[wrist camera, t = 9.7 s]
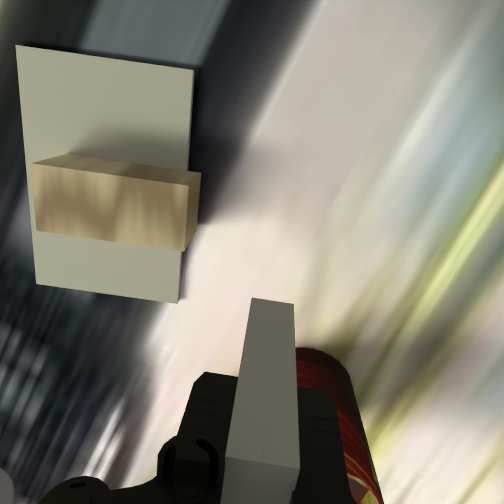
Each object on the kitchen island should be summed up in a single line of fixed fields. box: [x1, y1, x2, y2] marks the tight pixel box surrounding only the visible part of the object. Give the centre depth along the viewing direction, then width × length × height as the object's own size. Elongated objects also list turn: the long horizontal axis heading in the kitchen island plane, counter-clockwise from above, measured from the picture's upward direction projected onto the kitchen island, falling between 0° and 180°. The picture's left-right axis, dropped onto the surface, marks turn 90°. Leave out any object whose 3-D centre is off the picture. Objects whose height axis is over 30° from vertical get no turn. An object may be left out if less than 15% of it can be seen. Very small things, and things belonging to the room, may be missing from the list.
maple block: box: [31, 154, 201, 252], centre depth 27 cm, size 4×4×10 cm
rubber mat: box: [16, 45, 195, 304], centre depth 30 cm, size 18×12×1 cm, turn 172°
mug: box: [295, 348, 384, 504], centre depth 31 cm, size 10×14×12 cm
